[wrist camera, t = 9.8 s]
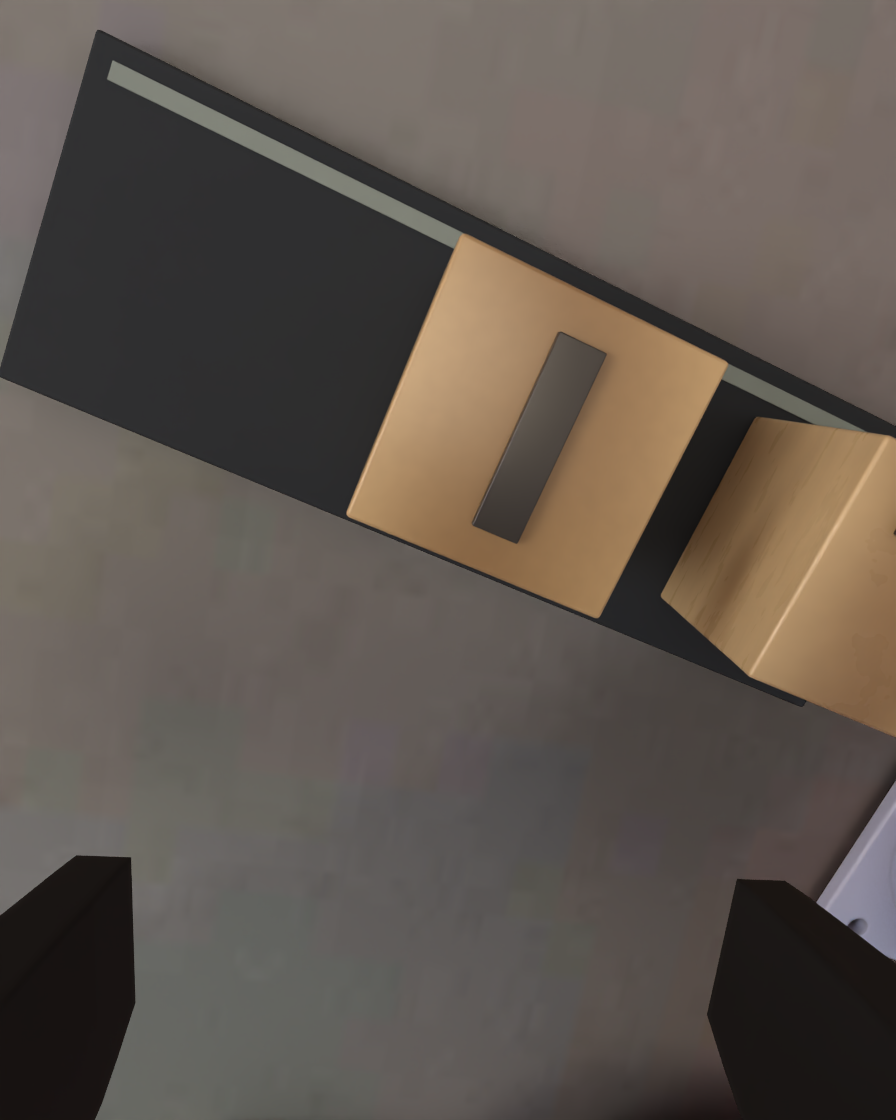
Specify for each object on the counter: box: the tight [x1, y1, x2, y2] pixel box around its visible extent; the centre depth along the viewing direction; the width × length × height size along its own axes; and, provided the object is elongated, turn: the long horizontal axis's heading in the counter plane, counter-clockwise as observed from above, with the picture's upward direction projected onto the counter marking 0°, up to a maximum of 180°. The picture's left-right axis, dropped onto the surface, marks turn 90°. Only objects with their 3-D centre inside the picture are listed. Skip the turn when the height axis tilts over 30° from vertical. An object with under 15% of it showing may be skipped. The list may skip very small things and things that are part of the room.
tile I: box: [347, 234, 728, 618], centre depth 12 cm, size 4×4×4 cm
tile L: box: [661, 417, 896, 738], centre depth 13 cm, size 4×4×4 cm
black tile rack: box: [0, 30, 896, 707], centre depth 14 cm, size 17×6×1 cm, turn 66°
